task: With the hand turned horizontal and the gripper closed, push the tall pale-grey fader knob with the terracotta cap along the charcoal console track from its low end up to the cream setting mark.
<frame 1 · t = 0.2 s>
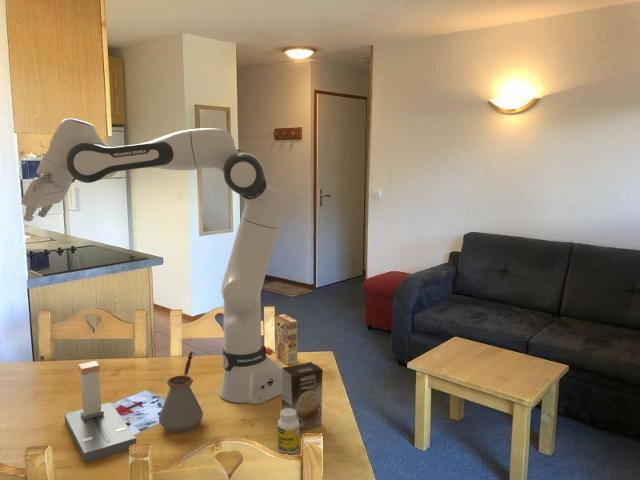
hand: (34, 218, 150), 54 cm above the table, tool tilted 25°, fingers open, 8 cm apart
supplement bottle: (288, 449, 136), on the table
coffee pot: (185, 417, 152), on the table
coffee box: (301, 425, 148), on the table
fader knob: (90, 389, 145), point 10 cm above the table, slide at 0.0 cm
fader console: (99, 434, 142), on the table
candy box: (286, 360, 191), on the table
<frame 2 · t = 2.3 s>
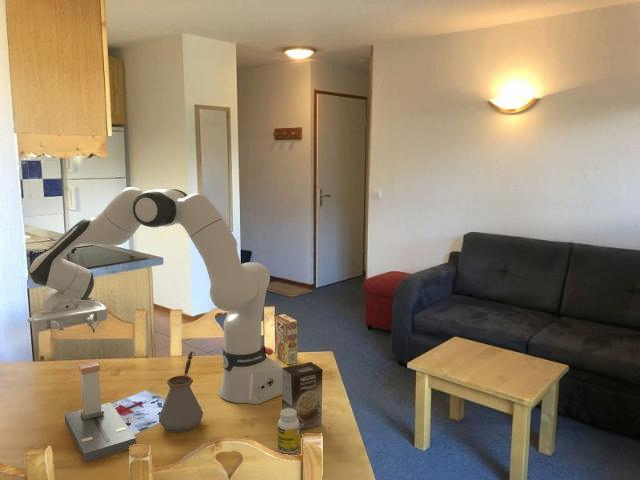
hand: (75, 324, 153), 24 cm above the table, tool horizontal, fingers open, 6 cm apart
nothing on the table moved.
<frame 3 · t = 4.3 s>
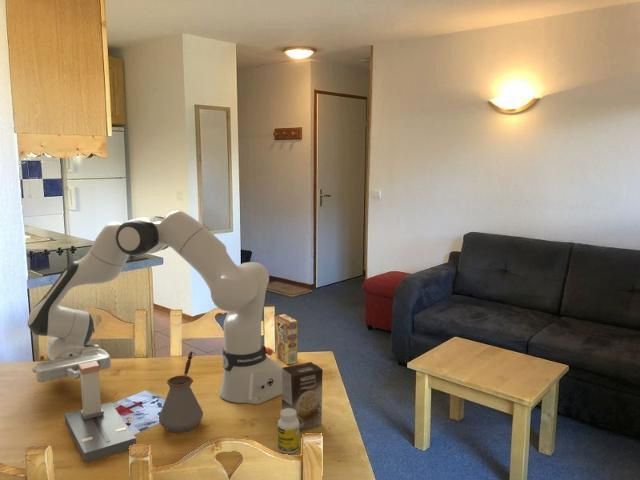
hand: (79, 375, 155), 9 cm above the table, tool horizontal, fingers closed
nothing on the table moved.
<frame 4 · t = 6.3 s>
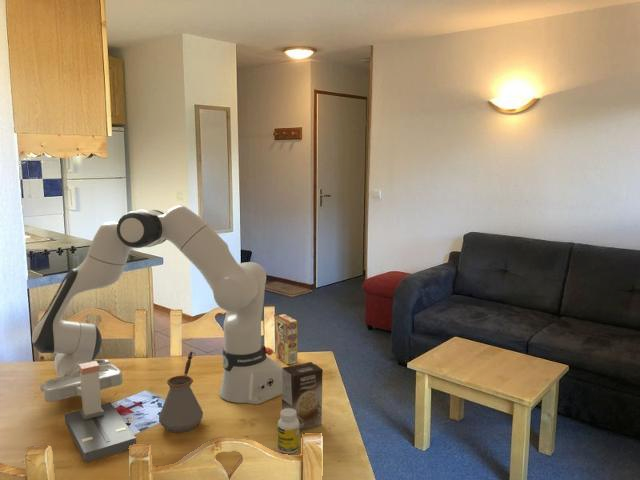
hand: (90, 394, 147), 8 cm above the table, tool horizontal, fingers closed, pressing on fader knob
fader knob: (90, 389, 145), point 10 cm above the table, slide at 0.0 cm, touching gripper
everything else where it was.
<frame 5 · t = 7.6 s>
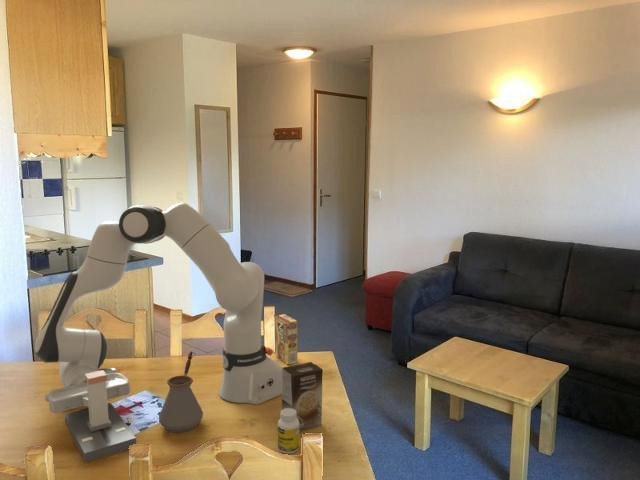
hand: (96, 404, 141), 8 cm above the table, tool horizontal, fingers closed, pressing on fader knob
fader knob: (97, 400, 139), point 10 cm above the table, slide at 7.4 cm, touching gripper
everything else where it was.
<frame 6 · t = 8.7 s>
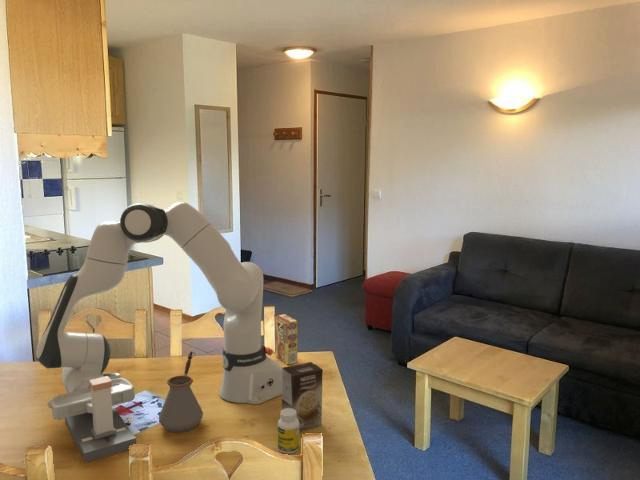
hand: (101, 411, 137), 8 cm above the table, tool horizontal, fingers closed, pressing on fader knob
fader knob: (102, 406, 136), point 10 cm above the table, slide at 11.7 cm, touching gripper
everything else where it was.
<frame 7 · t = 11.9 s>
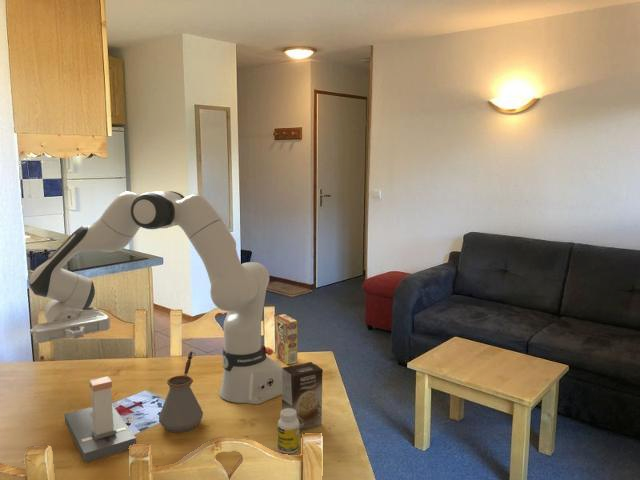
hand: (78, 335, 152), 22 cm above the table, tool horizontal, fingers closed
fader knob: (102, 407, 136), point 10 cm above the table, slide at 11.9 cm
everything else where it was.
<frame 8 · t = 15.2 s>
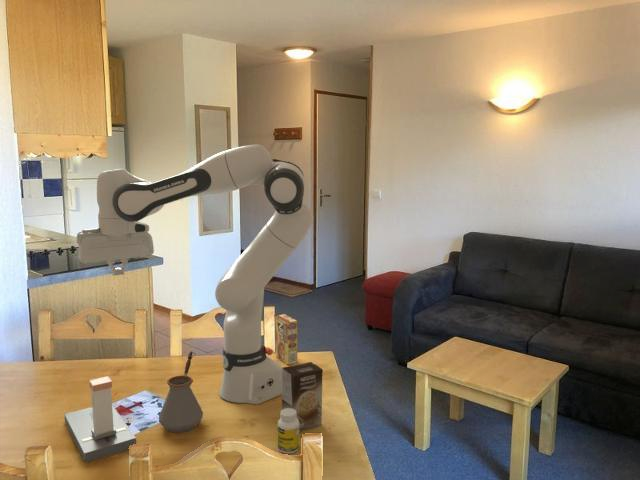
hand: (118, 274, 157), 37 cm above the table, tool pointing down, fingers closed
nothing on the table moved.
at the end: fader knob slide at 11.9 cm; coffee pot moved 0.2 cm from its start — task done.
